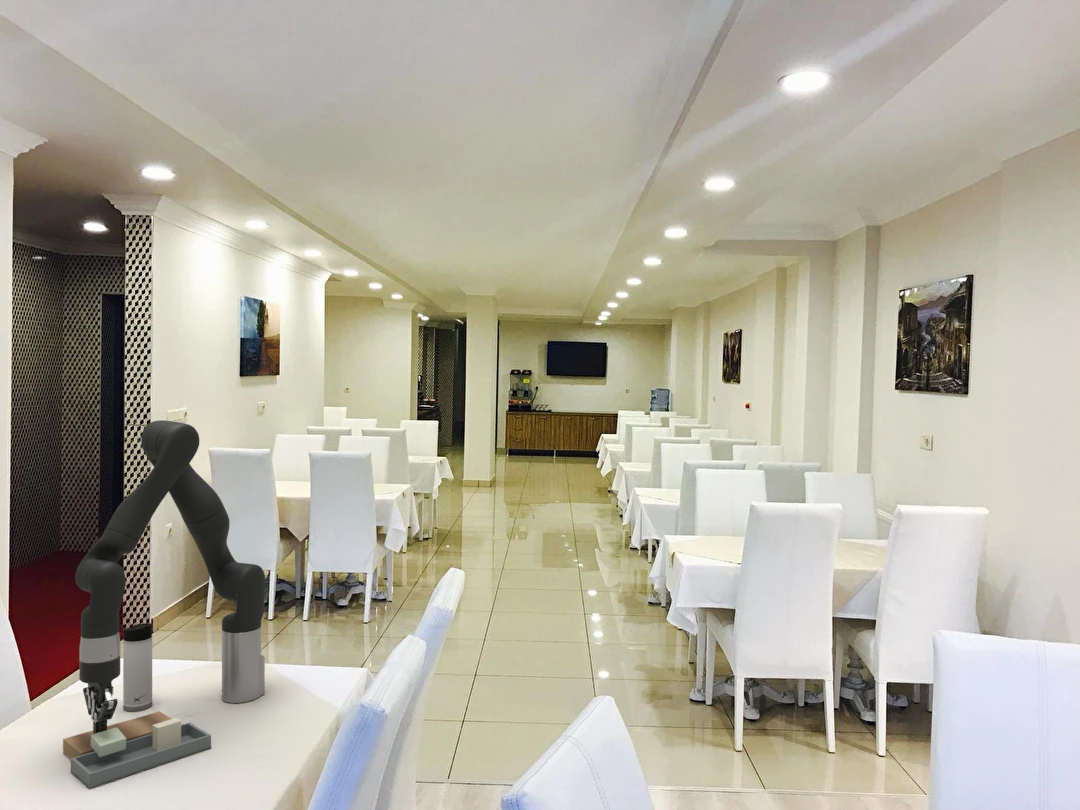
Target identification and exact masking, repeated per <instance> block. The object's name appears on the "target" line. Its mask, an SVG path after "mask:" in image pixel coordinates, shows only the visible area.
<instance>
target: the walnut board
mask: <svg viewBox="0 0 1080 810" xmlns="http://www.w3.org/2000/svg"><path fill="white" fill-rule="evenodd" d="M170 719H172V718H171V716H168V715H166V714H165V713H164V712H161V711H156V712H153V713H149V714H146V715H143V716H142V715H141V716H139V717H135V718H131V719H127V720H124V721H122V722H117V723H114V724H110V725H107V730H109V729H112V728H116V727H117V728H118V729H119V730H120V732H121V733H122V734H123V735H124V736H125V737H126V741H130V740H133V739H136V738H140V737H143V736H146V735H149V734H153V731H152V725H154V724H158V723H161V722H164V721H167V720H170ZM92 734H93V730H89V731H86V732H82V733H79V734H77V735H73V736H68V737H65V738H63V739H62V753H63V755H64V756H65V757H67V758H68V759H69V760H71V758H74V757H77V756H80V755H84V754H87V753H90V752H94V750H93V748H92V747H91V746H90V744H91V735H92Z"/></svg>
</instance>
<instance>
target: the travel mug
mask: <svg viewBox="0 0 1080 810" xmlns="http://www.w3.org/2000/svg"><path fill="white" fill-rule="evenodd" d="M122 636H123V638H122V641H123V643H122V651H123V652H122V660H123V662H122V663H123V665H122V667H123V668H122V672H123V673H122V675H123V676H122V677H123V678H122V679H123V681H122V683H123V688H122V689H123V690H122V691H123V693H122V694H123V697H122V698H123V704H122V707H123V710H124V711H126V712H133V713H134V712H140V711H144V710H148V709H149V708H151V706H152V705H153V623H150V622H145V623H144V622H143V623H138V624H133V625H130V626H129V627H126V628H123V635H122Z"/></svg>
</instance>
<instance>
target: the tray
mask: <svg viewBox="0 0 1080 810" xmlns="http://www.w3.org/2000/svg"><path fill="white" fill-rule="evenodd" d="M210 748H211V749H212V735H211V734H210V733H209V732H207V731H205V730H203V729H201V728H199V726H196V725H195V724H193V723H191V722H190V721H189V722H186V723H183V724H182V723H181V744H179V745H176V746H172V747H169V748H166V749H163V750H160V751H156V750H154V749H153V734H149V735H146V736H143V737H140V738H136V739H133V740H130V741H126V749H124V750H121V751H118V752H115V753H112V754H108V755H105V756H102V757H99V756H98V755H97V753H96V752H95V751H94V752H90V753H87V754H84V755H80V756H77V757H74V758H71V759H70V773H71V774H72V775H73V776H74V777H76V778H77V780H78V781H80V782H81V783H82V784H83V785H84V786H86V788H88V789H89V790H91V789H94V788H97V787H101V786H103V785H106V784H108V783H109V784H110V783H112V782H114V781H117V780H118V781H119V780H121V779H123V778H124V779H125V778H126V777H129V776H132V775H136V774H138V773H142V772H145V771H147V770H151V769H153V768H157V767H159V766H162V765H165V764H169V763H173V762H174V761H177V760H180V759H183V758H186V757H189V756H192V755H195V754H198V753H201V752H204V751H207V750H210Z"/></svg>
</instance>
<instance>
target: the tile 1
mask: <svg viewBox="0 0 1080 810" xmlns="http://www.w3.org/2000/svg"><path fill="white" fill-rule="evenodd" d="M90 746H91V747H92V748H93V750H94V751H95V752H96V753H97V755H98V756H99V757H102V756H105V755H108V754H112V753H115V752H118V751H121V750H124V749H126V737H125V736H124V735H123V734H122V733H121V732H120V730H119V729H118V728H117V727H116V728H112V729H109V730H106V731H102V732H99V733H96V734H92V735H91V744H90Z"/></svg>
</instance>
